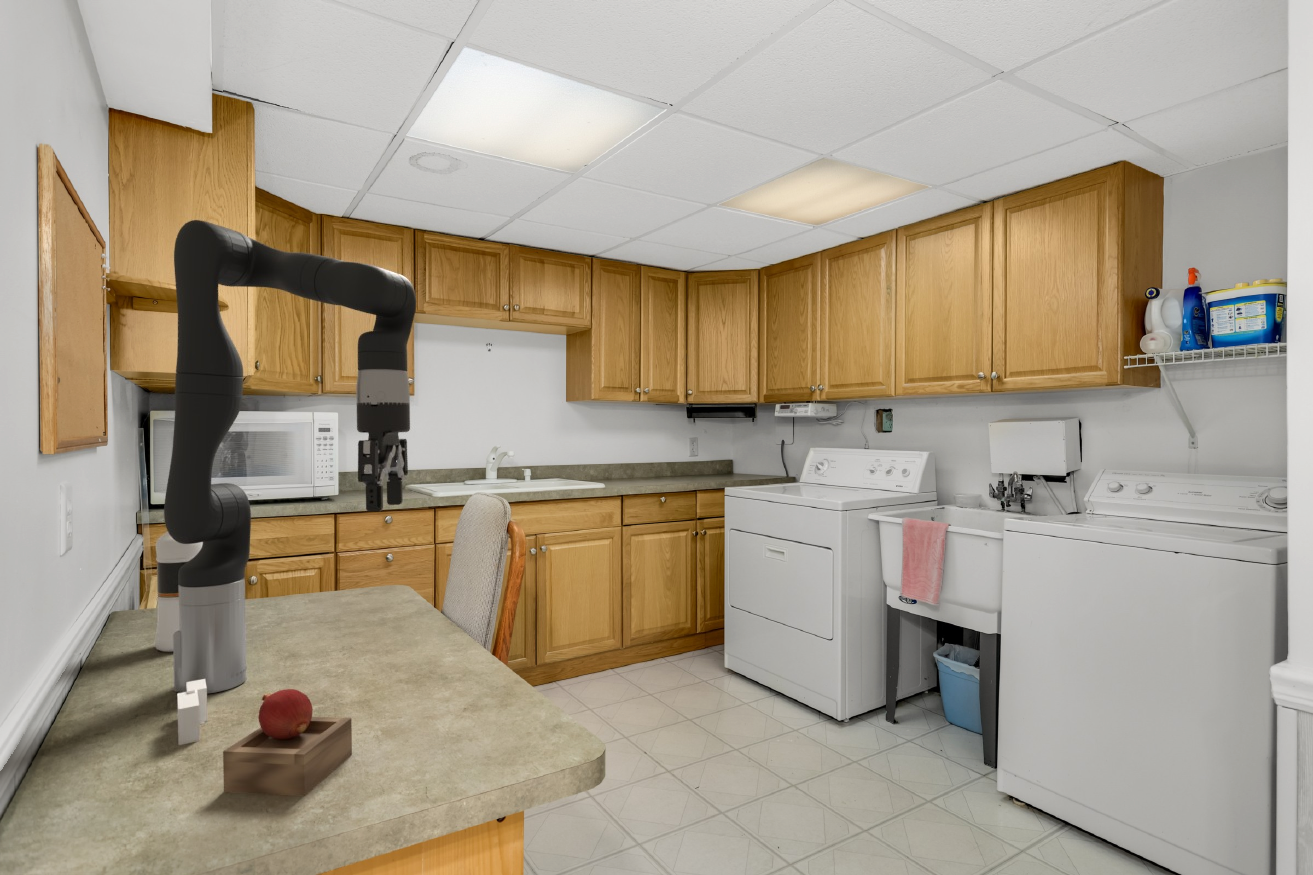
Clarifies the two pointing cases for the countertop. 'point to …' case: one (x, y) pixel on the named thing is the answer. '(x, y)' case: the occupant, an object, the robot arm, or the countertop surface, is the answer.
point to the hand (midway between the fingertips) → (385, 507)
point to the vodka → (170, 586)
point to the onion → (285, 714)
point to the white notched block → (192, 711)
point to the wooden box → (287, 759)
